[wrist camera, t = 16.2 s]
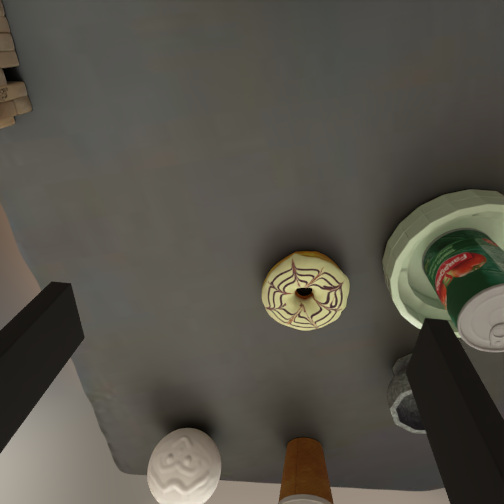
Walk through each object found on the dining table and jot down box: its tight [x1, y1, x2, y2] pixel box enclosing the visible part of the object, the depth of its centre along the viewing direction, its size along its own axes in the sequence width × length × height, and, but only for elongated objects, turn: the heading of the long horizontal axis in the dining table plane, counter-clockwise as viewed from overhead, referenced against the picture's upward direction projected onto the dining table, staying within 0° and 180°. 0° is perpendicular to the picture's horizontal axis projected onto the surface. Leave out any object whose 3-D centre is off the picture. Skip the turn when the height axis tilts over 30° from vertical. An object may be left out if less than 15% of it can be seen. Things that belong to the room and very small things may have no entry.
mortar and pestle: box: [387, 354, 426, 434], centre depth 47 cm, size 11×9×12 cm
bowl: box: [382, 189, 504, 338], centre depth 40 cm, size 17×17×5 cm
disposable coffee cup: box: [278, 437, 333, 504], centre depth 58 cm, size 10×10×12 cm
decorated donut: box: [262, 251, 350, 331], centre depth 45 cm, size 10×11×4 cm
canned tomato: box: [422, 228, 504, 352], centre depth 37 cm, size 8×8×11 cm
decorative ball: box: [147, 428, 221, 504], centre depth 60 cm, size 12×12×12 cm
